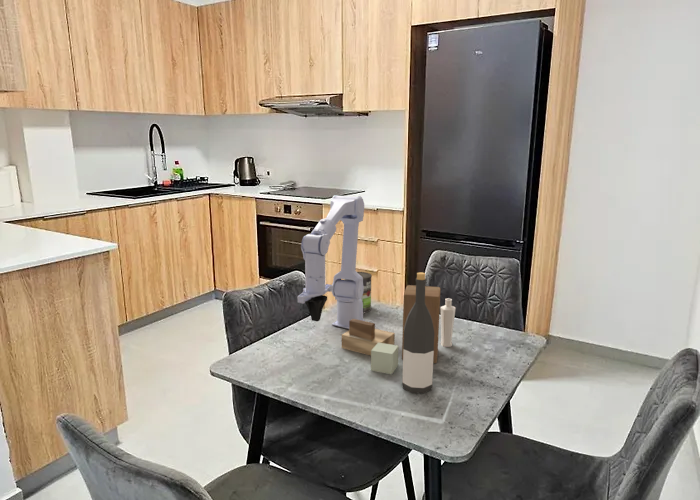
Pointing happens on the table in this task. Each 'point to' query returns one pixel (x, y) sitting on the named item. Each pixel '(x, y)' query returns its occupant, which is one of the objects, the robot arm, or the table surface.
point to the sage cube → (384, 358)
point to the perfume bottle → (447, 323)
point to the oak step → (364, 345)
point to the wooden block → (432, 305)
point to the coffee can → (366, 291)
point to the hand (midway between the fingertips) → (315, 320)
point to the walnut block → (362, 330)
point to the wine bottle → (418, 344)
